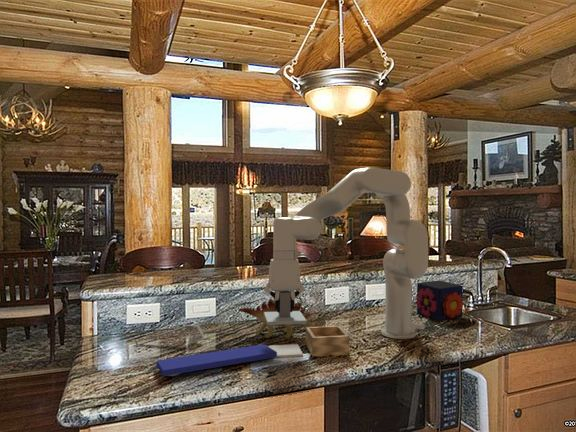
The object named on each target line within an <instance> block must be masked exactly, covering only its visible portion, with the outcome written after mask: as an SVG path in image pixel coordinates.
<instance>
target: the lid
mask: <svg viewBox="0 0 576 432" xmlns="http://www.w3.org/2000/svg"><path fill="white" fill-rule="evenodd" d="M279 300H280V312H279V313H278V312H264V317H265V320H266V322H267V325H273V326H275V325H283V324H307V320H306V319H305V317H304V316H303V315H302V313H301V312H300V310H299V311H292V312H290V300H291V293H290V291H280V292H279Z"/></svg>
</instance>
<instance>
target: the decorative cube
mask: <svg viewBox="0 0 576 432" xmlns="http://www.w3.org/2000/svg"><path fill="white" fill-rule="evenodd" d="M463 287H464V286H463V285H461V284H457V283H454V282H449V281H444V280H433V281H432V280H431V281H430V280H429V281H424V282H423V281H422V282H417V283H416V298H415V299H416V302H415V303H416V313H417V314H418V315H421V316H423V317H426V318H430V319H433V320H436V321H446V320H454V319H459V318H463V308H464V302H463V297H464V294H463V291H464V290H463V289H464V288H463Z"/></svg>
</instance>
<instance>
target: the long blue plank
mask: <svg viewBox="0 0 576 432" xmlns="http://www.w3.org/2000/svg"><path fill="white" fill-rule="evenodd" d="M268 346H269V345H266V344H264V343H263V344H258V345H251V346H244V347H239V348H238V347H236V348H231V349H225V350H218V351H211V352H206V353H205V352H204V353H199V354H197V353H196V354H192V355H185V356H180V357H179V356H178V357H172V358H165V359H158V360H156V368H157V369H158V370H159V373H160V374H161V375H162V376H163V377H165V376H167V377H174V376H178V375H180V374H184V373H189V372H196V371H202V370H207V369H214V368H220V367H226V366H230V365H238V364H243V363H251V362H255V361H261V360H267V359H274V357H277V352H276V351H274V350H273V349H271V348H269V347H268ZM277 358H278V357H277Z"/></svg>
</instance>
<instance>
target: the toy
mask: <svg viewBox="0 0 576 432" xmlns="http://www.w3.org/2000/svg"><path fill="white" fill-rule="evenodd" d="M302 305H303V304H302V303H301V302H296V303H295V302H294V309H292V311H300V312H301V313H302V315H303V316H304V317H305V319H306V320H307V324H283V325H267V322H266V320H265V317H264V312H277V309H276V310H275V300H273V299H272V298H269V300H268V301H267V303H266V301H263V302H262V303H261V306H260V305H258V306H257V307H256V309H255V307H252V306H250V307H248V306H246V307H242V308H239V312H243V313H245V314H249V315H250V316H252V317H254V318H257V319H258V320H259V321H261V323H262V324H261V326H260V327H259V329H256V330H255V334H262V332H263V331H264V330H265V329H266V328H268V329H267V330H268V333H265V334H264V335H263V338H271V337H272V336H273V334H274V326H275V327H282V328H283V327H284V328H285V329H284V330H283V333H285V334H284V335H283V336H284V339H285V338H286V339H290V338H291V336H292V335H293V333H294V330H293V327H295V326H296V327H301V328H303V327H304V328H306V327H322V326H324V325H326V323H327V322H325V321H324V318H323V317H322V318H321V317H319V319H317V323H316V321H314V322H312V319H310V317H311V314H310V313H308V312H306V310H307V309H306V308H305V307H303V308H301V307H302Z"/></svg>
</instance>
